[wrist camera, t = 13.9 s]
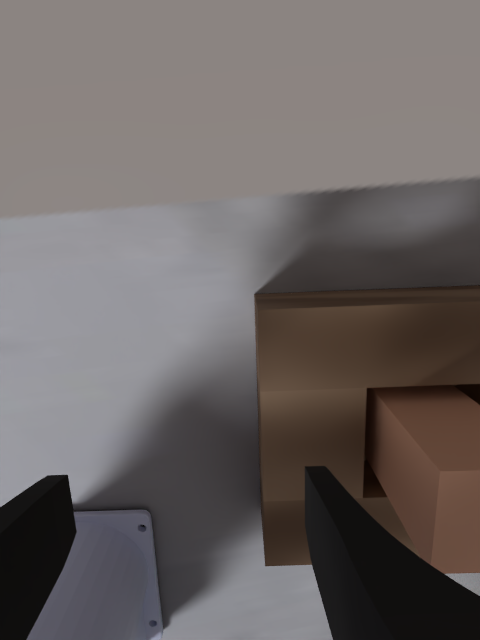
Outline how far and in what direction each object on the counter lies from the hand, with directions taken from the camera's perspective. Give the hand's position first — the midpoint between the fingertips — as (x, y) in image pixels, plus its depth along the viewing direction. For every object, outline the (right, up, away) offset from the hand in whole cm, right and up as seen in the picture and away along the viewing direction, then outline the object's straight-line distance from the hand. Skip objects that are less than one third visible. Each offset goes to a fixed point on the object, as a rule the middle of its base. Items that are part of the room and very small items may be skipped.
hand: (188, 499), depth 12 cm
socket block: (+10, +1, +10) cm, 14 cm away
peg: (+10, +1, +9) cm, 14 cm away
